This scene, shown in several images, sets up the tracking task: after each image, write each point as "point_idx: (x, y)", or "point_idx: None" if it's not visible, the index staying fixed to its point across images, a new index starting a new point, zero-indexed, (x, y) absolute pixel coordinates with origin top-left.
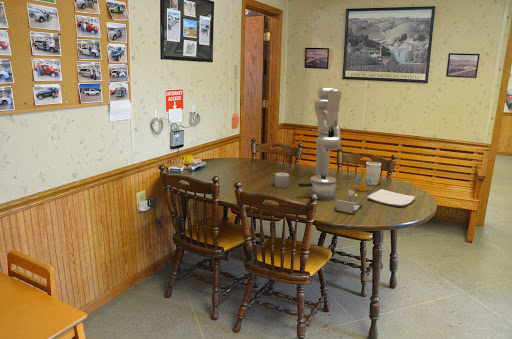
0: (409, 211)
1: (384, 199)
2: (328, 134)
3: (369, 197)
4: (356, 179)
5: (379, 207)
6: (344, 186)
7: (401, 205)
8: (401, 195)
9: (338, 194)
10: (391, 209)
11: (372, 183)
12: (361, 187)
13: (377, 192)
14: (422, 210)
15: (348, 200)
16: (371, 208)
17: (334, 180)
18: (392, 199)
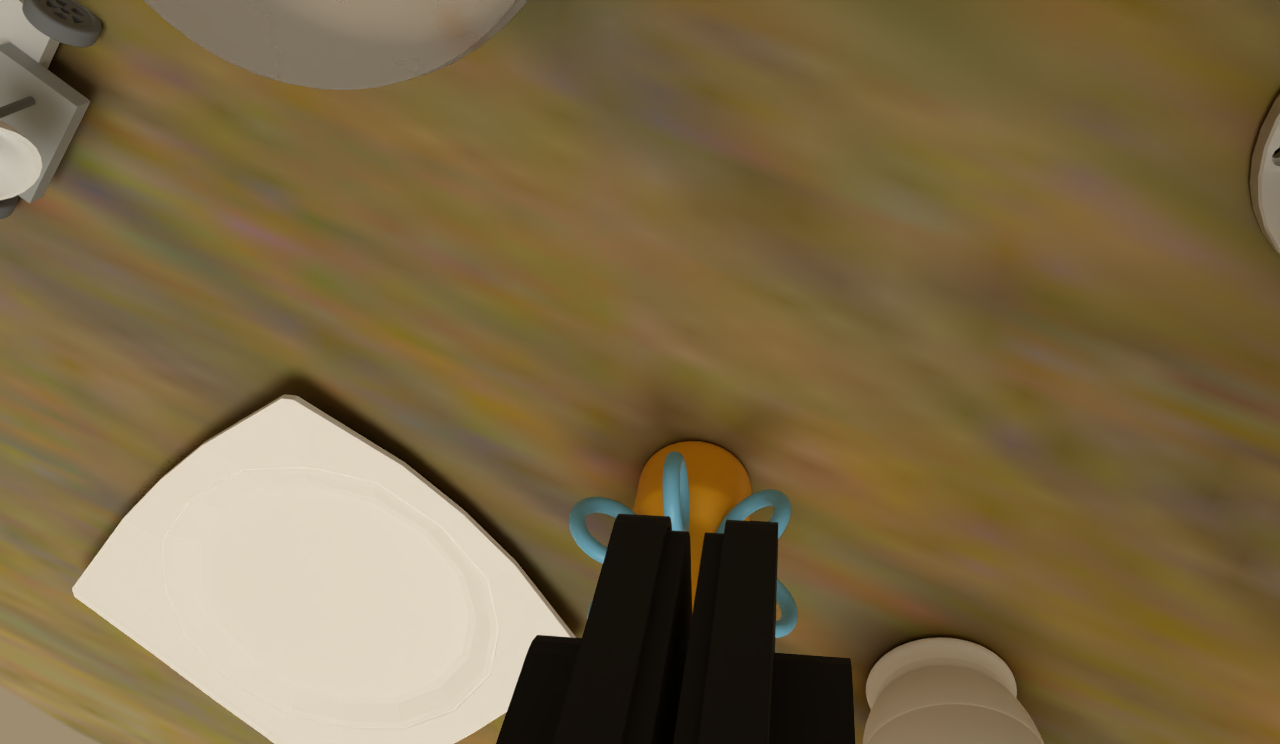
0: (27, 587)
1: (326, 546)
2: (718, 626)
3: (264, 409)
4: (663, 491)
5: (75, 393)
6: (878, 339)
7: (81, 584)
8: (424, 727)
9: (511, 114)
10: (42, 473)
11: (878, 680)
12: (644, 483)
13: (506, 576)
14: (81, 687)
15: (64, 99)
16: (21, 301)
17: (174, 9)
18: (335, 612)
